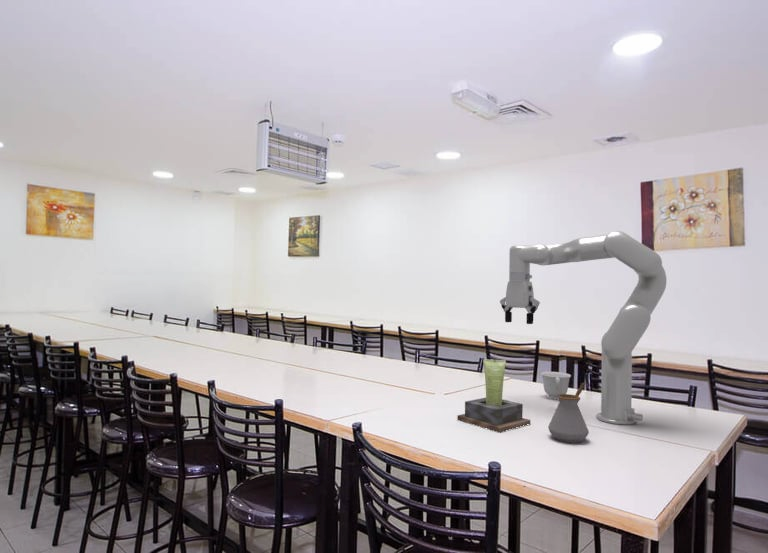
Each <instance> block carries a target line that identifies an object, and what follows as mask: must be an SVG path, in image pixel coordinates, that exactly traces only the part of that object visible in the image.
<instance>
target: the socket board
mask: <svg viewBox="0 0 768 553" xmlns="http://www.w3.org/2000/svg"><path fill="white" fill-rule="evenodd" d="M523 405H524V404H523V403H519V402H515V401H511V400H506V399H503V398H502V405H500V406H496V407H495V406H491V405H487V404H486V397H481V398H477V399H471V400H467V401H465V402H464V413H463V414H458V415H456V416H457V417H456V419H457V421H459V422H463V423H466V422H467V423H466V424H470V425H473V424H474V426H476V425H477V426H476V427H479V426H480V427H481V428H483V427H484V428H483V429H486V428H487V430H489V429H490V431H493V430H494V432H496V431H497V432H496V433H499V432H500V433H503V432H502V431H504V432H507V431H506V430H508V431H510V430H509V429H512V428H516V427H519V428H521V427H520V426H523V425H527V424H530V425H531V419H528V418H525V417H524V418H523V411H524V410H523V408H524V407H523ZM527 426H528V425H527ZM523 427H524V426H523ZM516 429H517V428H516ZM512 430H513V429H512Z"/></svg>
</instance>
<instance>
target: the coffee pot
mask: <svg viewBox="0 0 768 553" xmlns="http://www.w3.org/2000/svg"><path fill="white" fill-rule="evenodd" d="M585 385H586V386H587V387H585ZM588 387H589V385H588V383H585V382H581V384H580V385H579V388H578V389H577V390H576V393H575V394H569V393H566V394H559V395H557V397H558V398H559V402H558V405H557V407H556V409H555V411H554V413H553V416H552V418H551V420H550V422H549V423H548V427H547V428H548V431H549V433H550V434H551V435H552V436H553V437H554V439H555V438H556V439H555V440H557V439H558V440H557V441H559V440H560V442H563V441H565V442H564V443H569V442H571V443H572V444H576V443H577V442H578V443H581V442H582V441H583V440H585V439H586V438H587V437H588V435H589V433H590V431H589V429H588V426H587V423H586V422H585V421H586V420H584V417H583V415H582V411H581V409H580V407H579V405H578V403H579V402H580V400H581V397H580V395H581V393H582V391H583V389H587V388H588Z"/></svg>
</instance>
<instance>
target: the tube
mask: <svg viewBox="0 0 768 553" xmlns="http://www.w3.org/2000/svg"><path fill="white" fill-rule="evenodd" d="M482 360H483V361H482V362H483V363H482V364H483V370H484V381H485V383H484V384H485V398H486V404H487V405H491V406H495V407H496V406H500V405H502V399H503V390H504V379H505V378H504V377H505V370H506V363H507V360H505V359H503V360H502V359H487V358H485V359H482Z"/></svg>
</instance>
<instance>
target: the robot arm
mask: <svg viewBox="0 0 768 553" xmlns="http://www.w3.org/2000/svg"><path fill="white" fill-rule="evenodd" d="M508 257H509V263H508V264H509V265H508V266H509V268H508V269H509V270H508V272H509V273H508V274H509V275H508V276H509V277H508V279H509V280H508V282H507V285H506V291H505V292H506V293H505V297H503V298H501V299H500V300H499V304H500V305H501V308H502V310H503V312H504V315H505V316H504V321H505V323H511V322H513V321H512V320H513V319H512V318H513V317H512V316H513V312H512V310H513V308H517V309H518V308H520V309H525V310H526V312H527V313H526V324H527V325H532V324H534V314H535V313H536V311H537V310H538V308H539V305H540V304H541V301H539V300H537V299H536V298H535V296H534V294H535V293H534V287H533V282H532V281H531V279H532V278H533V275H532V274H530V273H531V271H530V268H531V265H530V264H532V265H538V266H551V265H559V264H560V265H561V264H568V263H580V262H588V261H594V260H595V261H596V260H605V259H617V260H618V261H619V262H621V263H623V264H624V265H626V266H627V267H629V269H632V270H633V271H634V272H635V273H636V274H637V275H638V276H637V277H638V281H637V284H636V286H635V287H634V288H633V291H632V292H631V295H630V296H629V297H628V299H627V300H626V302H625V303H624V304H623V306H622V307H620V310H619V312H618V313H617V315H616V317H615V318H614V320H613V322H612V323H611V325H610V326H609V328H608V330H607V331H606V332H605V333H604V335H603V336H602V338H601V345H600V346H601V378H600V380H601V382H600V386H601V388H600V390H601V394H600V395H601V396H600V397H601V398H600V400H601V403H600V406H601V408H600V412H597V413H596V414H595V415H596V416H595V417H596V419H597V420H599V421H601V422H604V423H607V424H615V425H625V426H626V425H627V426H628V425H634V424H636V423H637V421H639V422H643V421H644V420H643V419H644V416H643V414H642V413H636V412H635V408H633V407H632V387H633V386H632V383H633V382H632V377H633V375H632V374H633V371H632V370H633V369H632V368H633V365H632V364H633V361H632V360H633V359H632V356H633V354H632V352H633V351H634V349H635V347H636V346H637V344H638V343H639V341H641V339H642V337H643V335H644V334H645V332H646V331H647V329H648V327H649V326H650V323H651V320H652V319H651V315H652V314H653V312H654V310H656V307H657V305H658V303H659V302H660V301H661V298H662V296H663V295H664V293H665V291H666V287H667V275H666V274H667V273H666V270H665V268H664V267H663V260H662V258H661V256H660V255H659V253H657V252H656V251H654V250H653V249H652V248H650V247H648V246H647V245H645V244H643V243H641V242H640V241H638V240H637V239H635V238H634V237H632V236H631V235H629V234H627V233H625V232H624V231H620V230H615V231H611V232H609V233H608V234H601V235H593V236H585V237H578V238H576V239H573V240H570V241H569V242H566V243H565V242H564V243H560V244H552V245H545V244H541V243H537V244H532V245H522V244H521V245H512V246H511V247H510V248H509V256H508Z"/></svg>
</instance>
